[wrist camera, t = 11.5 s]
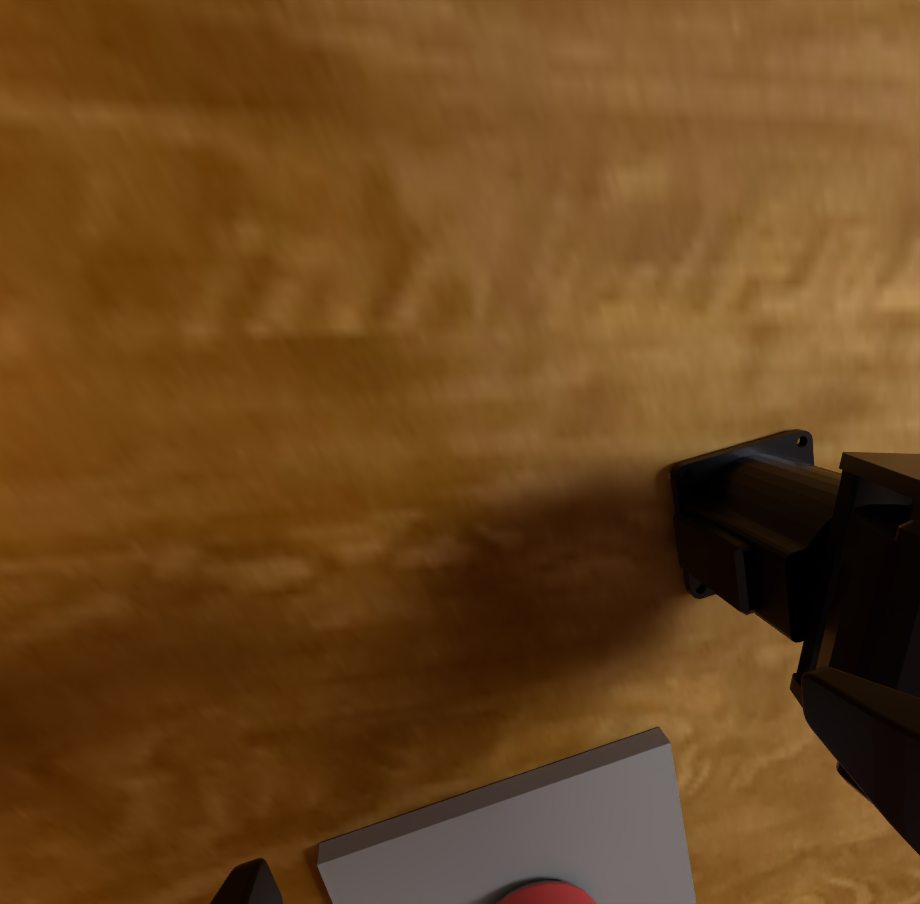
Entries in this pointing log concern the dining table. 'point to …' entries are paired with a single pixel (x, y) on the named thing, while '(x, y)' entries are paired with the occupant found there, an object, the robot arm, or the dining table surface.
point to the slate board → (531, 837)
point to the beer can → (547, 894)
